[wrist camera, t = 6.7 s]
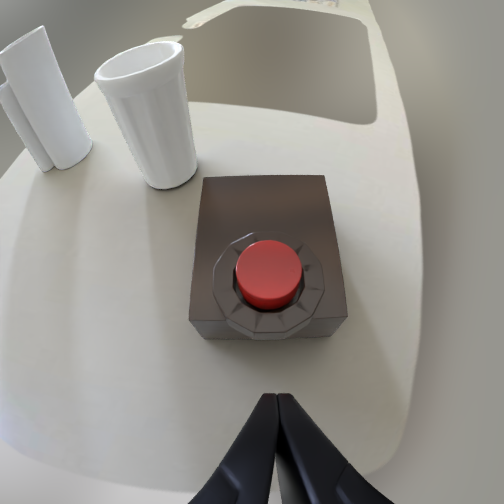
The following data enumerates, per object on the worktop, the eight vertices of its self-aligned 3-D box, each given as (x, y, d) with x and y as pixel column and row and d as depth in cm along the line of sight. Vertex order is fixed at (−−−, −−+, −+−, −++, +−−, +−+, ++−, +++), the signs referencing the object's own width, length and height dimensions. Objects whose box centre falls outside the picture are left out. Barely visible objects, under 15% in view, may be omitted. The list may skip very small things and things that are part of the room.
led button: (300, 309, 17) (304, 298, 15) (237, 310, 17) (235, 299, 15) (296, 254, 18) (299, 239, 17) (238, 255, 19) (236, 240, 17)
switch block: (332, 351, 22) (358, 328, 16) (202, 354, 22) (179, 332, 16) (315, 212, 28) (327, 159, 22) (212, 214, 28) (200, 161, 22)
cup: (124, 190, 31) (75, 84, 18) (160, 143, 34) (131, 43, 22) (184, 205, 29) (146, 79, 17) (218, 153, 33) (201, 39, 20)
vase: (100, 137, 37) (54, 19, 19) (74, 172, 33) (11, 48, 16) (52, 140, 38) (6, 44, 21) (28, 171, 35) (-30, 73, 17)
